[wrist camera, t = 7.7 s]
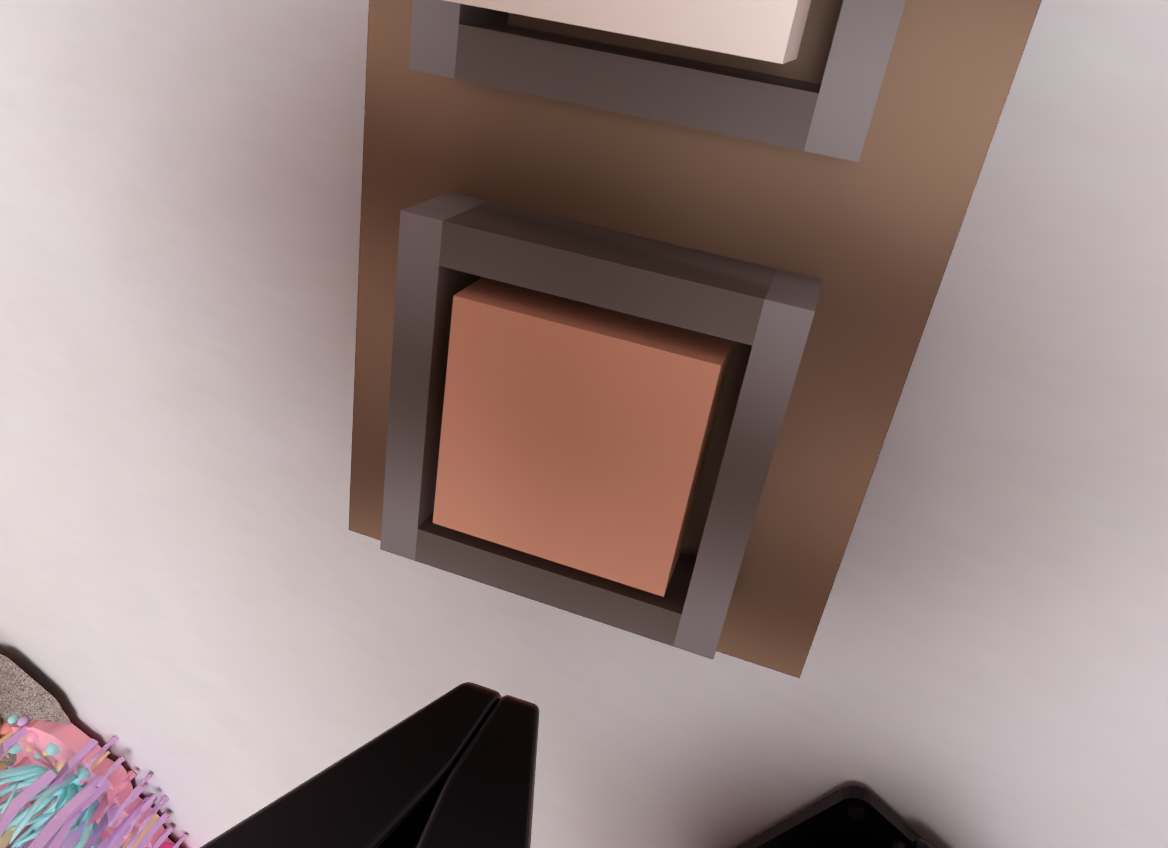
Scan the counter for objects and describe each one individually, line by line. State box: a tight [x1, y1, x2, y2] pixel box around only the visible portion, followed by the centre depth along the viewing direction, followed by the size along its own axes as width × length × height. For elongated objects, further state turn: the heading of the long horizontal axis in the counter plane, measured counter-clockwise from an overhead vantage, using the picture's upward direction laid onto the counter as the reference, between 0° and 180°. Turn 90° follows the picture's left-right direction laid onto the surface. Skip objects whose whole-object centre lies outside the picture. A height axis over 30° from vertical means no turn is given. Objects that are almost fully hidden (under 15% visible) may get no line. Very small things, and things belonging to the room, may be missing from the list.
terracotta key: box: [433, 277, 735, 597], centre depth 17 cm, size 5×5×2 cm
